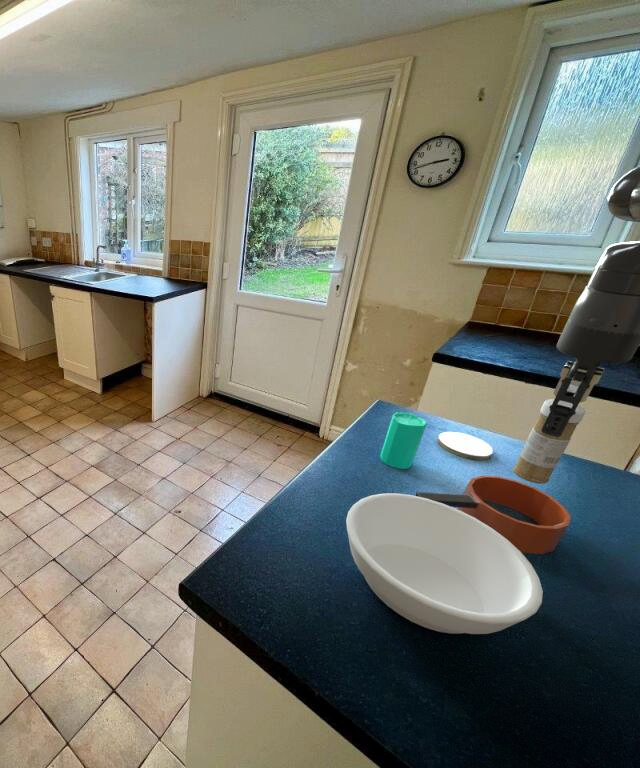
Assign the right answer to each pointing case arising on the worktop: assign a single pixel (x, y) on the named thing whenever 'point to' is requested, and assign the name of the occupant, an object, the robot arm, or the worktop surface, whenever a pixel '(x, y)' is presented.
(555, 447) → the sprinkles bottle
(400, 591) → the bowl
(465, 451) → the disc
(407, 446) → the candle
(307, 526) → the worktop surface
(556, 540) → the pan
